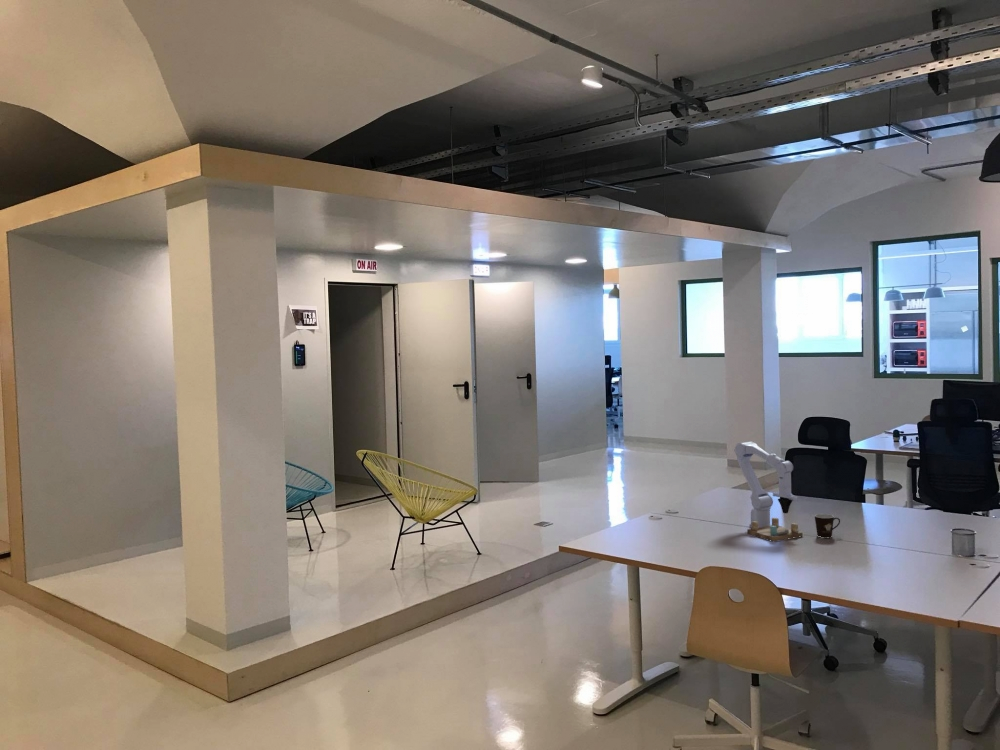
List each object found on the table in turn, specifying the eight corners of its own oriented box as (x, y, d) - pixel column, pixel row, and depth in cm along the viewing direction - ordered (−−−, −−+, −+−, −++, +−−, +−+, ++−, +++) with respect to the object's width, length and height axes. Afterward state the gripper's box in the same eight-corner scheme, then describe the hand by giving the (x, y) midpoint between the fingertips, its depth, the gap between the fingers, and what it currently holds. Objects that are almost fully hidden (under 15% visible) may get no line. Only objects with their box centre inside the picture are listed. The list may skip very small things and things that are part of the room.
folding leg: (785, 531, 371) (785, 523, 371) (790, 533, 368) (790, 524, 368) (769, 534, 367) (768, 526, 367) (773, 535, 364) (773, 527, 364)
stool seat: (747, 533, 379) (747, 521, 379) (775, 528, 386) (775, 516, 386) (773, 541, 363) (773, 529, 362) (802, 536, 370) (802, 524, 369)
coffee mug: (815, 538, 366) (815, 517, 365) (814, 533, 374) (813, 513, 374) (842, 539, 362) (841, 518, 362) (840, 535, 370) (839, 514, 370)
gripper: (802, 487, 374) (802, 514, 375) (780, 482, 387) (780, 509, 388) (791, 488, 371) (792, 516, 372) (769, 484, 384) (769, 510, 385)
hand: (785, 512), depth 379 cm, fingers closed
